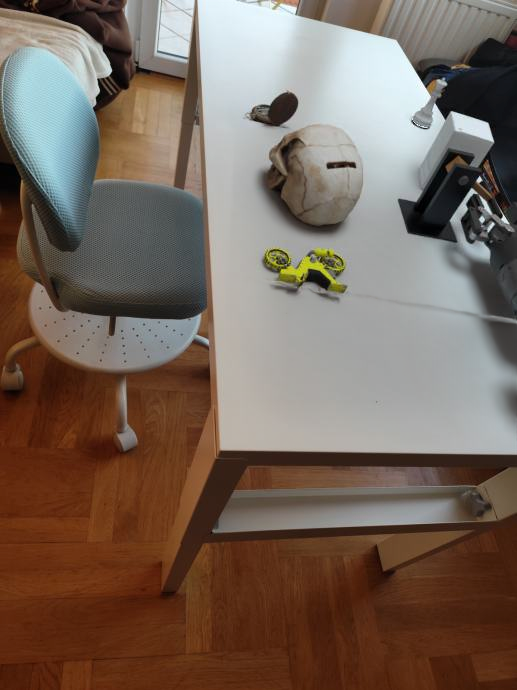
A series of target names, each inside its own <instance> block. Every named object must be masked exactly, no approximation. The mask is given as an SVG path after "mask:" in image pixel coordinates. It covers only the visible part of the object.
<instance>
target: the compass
mask: <svg viewBox="0 0 517 690" xmlns="http://www.w3.org/2000/svg"><path fill="white" fill-rule="evenodd" d="M298 108H299V99H298V96H296V94H295V93H293V92H291V91H289V90H288V89H286V92H283V93H280V94H279V95H277V96H276V97H275V98H274V99H273V100H272V101H271V103H270V104H265V103H262V104H258V105H255V106H253V107H252V109H251V112H246V113H244V116H245V117H246V118H247V119H249V120H250V119H251V120H252V119H254V121H256V122H257V123H259V124H264V125H269V126H273V127H276V126H279V125H283V124H285V123H287V122H289V121H290V120H291V119H292V117H294V115H295V114H296V112H297V110H298ZM248 115H250V116H251V117H249V116H248Z"/></svg>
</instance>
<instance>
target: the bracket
mask: <svg viewBox="0 0 517 690" xmlns="http://www.w3.org/2000/svg"><path fill="white" fill-rule="evenodd" d="M457 156H459V157H460V158H462V159H463V160H464V161H465V162H466V163H467V164H468V165H469V166H468V165H463V164H459V163H454V165H453V166H452V168H451V170H450V171H449V173H448V172H447V169H446V167H445V166H446V165H448V164H449V163H450V162H451V161H453V160H454V159H455V158H456V157H457ZM474 158H475V156H474V154H473V153H468V152H464V151H460V150H455V149H451V148H448V149H447V151H446V153H445V154H444V156H443V158H442V159H441V161H440V163H439V165H438V166H437V168H436V170H435V171H434V173H433V175H432V176H431V178H430V180H429V181H428V183H427V185H426V187H425V188H424V190H422V192H421V193H420V195H419V197H418V198H417V200H416V201H414V200H408V199H404V198H398V199H397V202H398V206H399V209H400V212H401V216H402V219H403V222H404V226H405V229H406V232H407V234H409V235H414V236H420V237H425V238H429V239H436V240H441V241H446V242H450V243H451V242H452V243H456V244H457V243H458V238H457V235H456V233H455V231H454V228H453V225H452V223H451V220H452V218H453V216H454V215H455V213H456V212H457V211H458V209H459V208H460V206H461V204H462V203H463V201H464V200H465V199H466V197H467V196H468V194H469V193H470V191H471V190H472V187H473V185H474V184H475V182H476V181H477V182H478V180H479V178H480V177H481V175H482V174H483V171H482V168H481V167H478V168H477V167H472V166H470V164H471V162H472V161H473V159H474Z"/></svg>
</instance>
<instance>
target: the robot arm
mask: <svg viewBox="0 0 517 690" xmlns="http://www.w3.org/2000/svg"><path fill="white" fill-rule="evenodd" d="M481 198H482V197H481V196H480V195H479V194H478V193H476V192H475V193H472V195H470V196H469V198H468V200H467V201H466V202H465V207H466V208H467V210H466V211H465V213H464V215H462V217H461V218H460V219H459V221H460V224H461V228H462V230H463V234H464V237H465V241H466V242H467V243H468V244H470V245H474V243H475V242H476V241H477V242H482V243H483V244H484V246H486V248H487V249H488V250H489V253H490V254H489V265H490V267H491V270H492V272H493V274H494V276H495V278H496V282H497V284H498V286H499V289H500V291H501V293H502V295H503V297H504V299H505V300H506V302H507V303H508V305H509V307H510V308H511V312H512V313H513V315H514V318H515V320H516V321H517V202H515V201H512V202H511V203H510V204H509V205H508V207H507V208H506V210H505V214H506V216H507V218H508V220H509V222H510V223H507V222H504V220H502V219H500V218H499V217H498V216H497V215H496V214H493V215H492V213H491V212H489V211H488V210H487V209H486V208H485V205H484V203H483V201H482V199H481ZM481 217H482V218H484V220H483V222H482V221H480V219H481ZM492 224H493V226H492V227H491V225H492ZM490 227H491V228H490ZM489 228H490V229H489ZM488 229H489V231H488Z"/></svg>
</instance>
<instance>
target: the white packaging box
mask: <svg viewBox="0 0 517 690" xmlns="http://www.w3.org/2000/svg"><path fill="white" fill-rule="evenodd" d="M494 140H495V139H494V138H493V134H492V130H491V128H490V124H489V122H487V121H484V120H481V119H477V118H476V117H475V118H474V117H472V116H469V115H465V114H462V113H458V112H456V111H452V110H451V111H450V112H449V113H448V116H447V117H446V119H445V121H443V124H442V126H441V128H440V129H439V132H438V133H437V135H436V137H435V139H434V141H433V142H432V144H431V146H430V148H429V150H427V153H426V155H425V156H424V159H423V161H422V163H421V164H420V166H419V168H418V179H419V188H420V190H422V191H423V190H424V188H425V187H426V185H427V183H428V181H429V180H430V178H431V176H432V175H433V173H434V171H435V170H436V168H437V166H438V165H439V163H440V161H441V159H442V158H443V156H444V154H445V153H446V151H447V149H448V148H451V149H455V150H460V151H464V152H468V153H473V154H474V156H475V158H474V159H473V161H472V162H471V164H470V166H472V167H477V168H479V167H480V165H481V164H482V162H483V161H484V159H485V157H486V156H487V154H488V153H489V151H490V150H491V148H492V146H493V145H494V144H495V141H494Z"/></svg>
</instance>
